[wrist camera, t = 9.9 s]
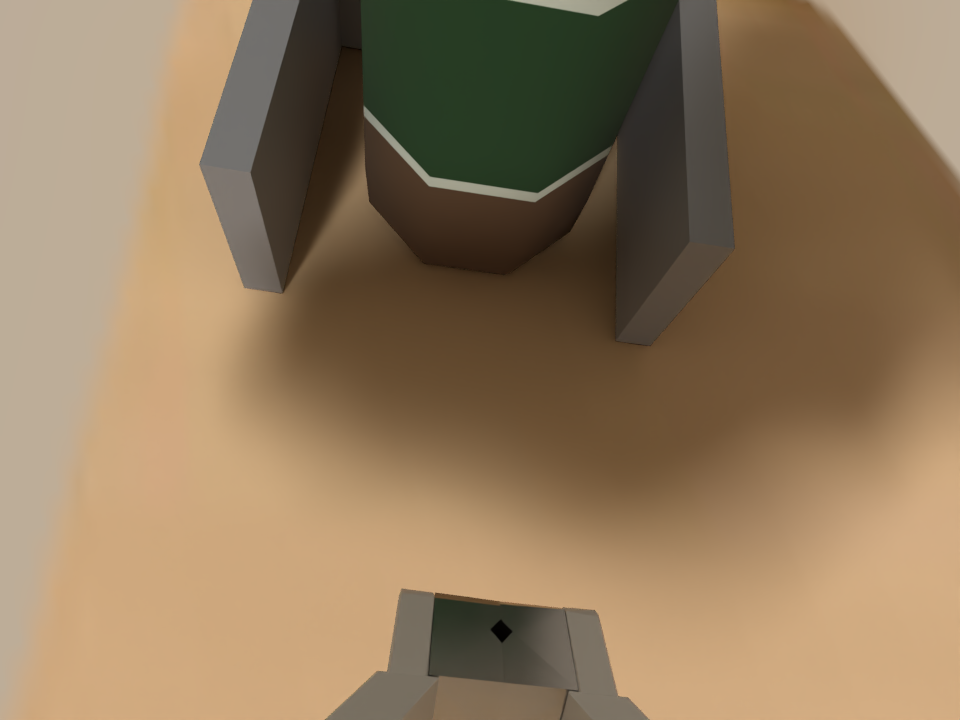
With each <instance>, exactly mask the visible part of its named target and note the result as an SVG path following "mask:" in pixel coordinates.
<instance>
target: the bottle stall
mask: <svg viewBox="0 0 960 720" xmlns="http://www.w3.org/2000/svg"><path fill="white" fill-rule="evenodd" d="M342 46H346V47H351V48H357V49H362V33H361V0H253V1H252V4H251V7H250V10H249V13H248V16H247V19H246V22H245V26H244V29H243V32H242V35H241V38H240V41H239V44H238V47H237V50H236V53H235V56H234V59H233V62H232V66H231V69H230V72H229V75H228V78H227V81H226V84H225V87H224V90H223V93H222V96H221V99H220V102H219V106H218V109H217V112H216V115H215V118H214V121H213V124H212V127H211V130H210V133H209V136H208V139H207V142H206V146H205V149H204V152H203V155H202V158H201V161H200V164H199V165H200V168H201V170H202V173H203V176H204V179H205V181H206V184H207V187H208V190H209V192H210V195H211V198H212V201H213V203H214V206H215V209H216V211H217V214H218V217H219V220H220V222H221V225H222V228H223V231H224V233H225V236H226V239H227V242H228V244H229V247H230V250H231V252H232V255H233V258H234V261H235V263H236V266H237V269H238V272H239V274H240V277H241V280H242V283H243V285H244V288H249V289H256V290H263V291H270V292H277V293H283V289H284V285H285V281H286V277H287V273H288V268H289V264H290V260H291V256H292V252H293V247H294V243H295V239H296V235H297V231H298V227H299V222H300V218H301V214H302V210H303V206H304V201H305V197H306V193H307V189H308V185H309V180H310V176H311V172H312V168H313V164H314V160H315V155H316V151H317V147H318V143H319V139H320V134H321V130H322V126H323V122H324V118H325V114H326V109H327V105H328V101H329V97H330V93H331V88H332V84H333V80H334V76H335V72H336V68H337V63H338V59H339V55H340V51H341V47H342ZM734 249H735V245H734V231H733V218H732V204H731V191H730V178H729V164H728V151H727V137H726V124H725V111H724V97H723V84H722V70H721V57H720V44H719V30H718V17H717V3H716V0H678V3H677V5H676V7H675V9H674V11H673V13H672V16H671V18H670V20H669V22H668V24H667V27H666V29H665V31H664V33H663V35H662V38H661V40H660V42H659V44H658V46H657V49H656V51H655V53H654V55H653V57H652V60H651V62H650V64H649V66H648V68H647V71H646V73H645V75H644V77H643V79H642V82H641V84H640V86H639V88H638V90H637V93H636V95H635V97H634V99H633V101H632V103H631V106H630V108H629V110H628V112H627V114H626V117H625V119H624V121H623V123H622V125H621V128H620V130H619V132H618V134H617V238H616V341H620V342H627V343H634V344H641V345H648V346H650V345H651V344H652V343H653V342H654V341H655V340H656V339H657V337H658V336H659V335H660V334H661V333H662V332H663V331H664V329H665V328H666V327H667V326H668V325H669V324H670V323H671V321H672V320H673V319H674V318H675V317H676V316H677V314H678V313H679V312H680V311H681V310H682V309H683V308H684V306H685V305H686V304H687V303H688V302H689V301H690V300H691V298H692V297H693V296H694V295H695V294H696V293H697V292H698V290H699V289H700V288H701V287H702V286H703V285H704V284H705V282H706V281H707V280H708V279H709V278H710V277H711V276H712V274H713V273H714V272H715V271H716V270H717V269H718V267H719V266H720V265H721V264H722V263H723V262H724V261H725V259H726V258H727V257H728V256H729V255H730V254H731V253H732V251H733V250H734Z"/></svg>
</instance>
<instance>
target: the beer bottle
mask: <svg viewBox="0 0 960 720" xmlns="http://www.w3.org/2000/svg"><path fill="white" fill-rule="evenodd" d="M677 3H678V0H361V33H362V68H363V102H364V137H365V169H366V178H367V186H368V194H369V202H370V203H371V204H372V205H373V206H374V207H375V209H376V210H377V211H378V212H379V213H380V214H381V215H382V217H383V218H384V219H385V220H386V221H387V222H388V223H389V224H390V226H391V227H392V228H393V229H394V230H395V231H396V232H397V233H398V235H399V236H400V237H401V238H402V239H403V240H404V241H405V242H406V244H407V245H408V246H409V247H410V248H411V249H412V250H413V251H414V253H415V254H416V255H417V256H418V257H419V258H420V259H421V260H422V262H423V263H425V264H432V265H439V266H446V267H453V268H460V269H467V270H474V271H481V272H488V273H496V274H503V275H506V274H509V273H510V272H512V271H513V270H515V269H516V268H517V267H519V266H520V265H522V264H523V263H525V262H526V261H528V260H529V259H531V258H532V257H534V256H535V255H536V254H538V253H539V252H541V251H542V250H544V249H545V248H547V247H548V246H550V245H551V244H552V243H554V242H555V241H557V240H558V239H560V238H561V237H563V236H564V235H566V234H567V233H569V232H570V231H571V229H572V227H573V225H574V223H575V222H576V220H577V218H578V216H579V215H580V213H581V211H582V209H583V208H584V206H585V204H586V202H587V200H588V198H589V196H590V194H591V191H592V189H593V187H594V185H595V183H596V180H597V178H598V176H599V174H600V172H601V169H602V167H603V165H604V163H605V161H606V158H607V156H608V154H609V152H610V150H611V147H612V145H613V143H614V141H615V139H616V136H617V134H618V132H619V130H620V128H621V125H622V123H623V121H624V119H625V117H626V114H627V112H628V110H629V108H630V106H631V103H632V101H633V99H634V97H635V95H636V93H637V90H638V88H639V86H640V84H641V82H642V79H643V77H644V75H645V73H646V71H647V68H648V66H649V64H650V62H651V60H652V57H653V55H654V53H655V51H656V49H657V46H658V44H659V42H660V40H661V38H662V35H663V33H664V31H665V29H666V27H667V24H668V22H669V20H670V18H671V16H672V13H673V11H674V9H675V7H676V5H677Z"/></svg>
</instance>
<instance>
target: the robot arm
mask: <svg viewBox="0 0 960 720" xmlns="http://www.w3.org/2000/svg"><path fill="white" fill-rule="evenodd" d="M325 720H649V719H648V718H647V716H646V715H645V714H644V713H643V712H642V711H641V710H640V709H639V708H638V707H637V706H636V705H635V704H634V703H633V702H632V701H631V700H630V699H629V698H628V697H620V696H618V693H617V689H616V685H615V681H614V677H613V672H612V668H611V664H610V660H609V656H608V652H607V648H606V644H605V639H604V635H603V631H602V627H601V623H600V619H599V615H598V614H597V612H596V611H595V610H587V609H576V608H565V607H563V608H557V607H547V606H538V605H528V604H519V603H510V602H500V601H494V600H486V599H479V598H472V597H464V596H457V595H450V594H442V593H435V595H434V594H433V593H431V592H424V591H416V590H408V589H401V592H400V594H399V600H398V606H397V612H396V619H395V625H394V632H393V638H392V644H391V651H390V657H389V664H388V670H387V672H383V671H377V672H375V673H374V674H373V675H372V676H371V677H370V678H369V679H368V680H367V681H366V682H365V683H364V684H363V685H362V686H360V687H359V688H358V689H357V690H356V691H355V692H354V693H353V694H352V695H351V696H350V697H349V698H348V699H347V700H346V701H344V702H343V703H342V704H341V705H340V706H339V707H338V708H337V709H336V710H335V711H334V712H333V713H332V714H331V715H329V716H328V717H327V718H326V719H325Z"/></svg>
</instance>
